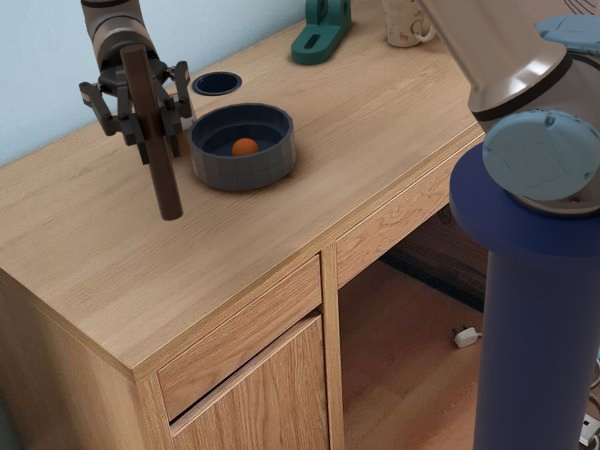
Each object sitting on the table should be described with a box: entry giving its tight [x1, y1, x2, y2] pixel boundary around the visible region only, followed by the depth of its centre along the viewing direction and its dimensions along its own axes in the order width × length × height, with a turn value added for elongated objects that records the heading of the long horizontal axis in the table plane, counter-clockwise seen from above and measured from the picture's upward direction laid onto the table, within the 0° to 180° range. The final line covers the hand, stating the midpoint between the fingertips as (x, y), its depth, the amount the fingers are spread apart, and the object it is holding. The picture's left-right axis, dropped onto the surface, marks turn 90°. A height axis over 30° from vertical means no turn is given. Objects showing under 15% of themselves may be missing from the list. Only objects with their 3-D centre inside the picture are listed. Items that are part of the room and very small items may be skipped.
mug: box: [381, 0, 437, 48], centre depth 140 cm, size 8×13×10 cm, turn 36°
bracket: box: [290, 0, 353, 66], centre depth 144 cm, size 18×7×8 cm, turn 160°
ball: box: [232, 138, 259, 157], centre depth 114 cm, size 4×4×4 cm
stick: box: [120, 44, 185, 222], centre depth 87 cm, size 3×3×20 cm
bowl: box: [187, 102, 298, 192], centre depth 115 cm, size 15×15×6 cm
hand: (159, 149), depth 82 cm, fingers closed on stick, 3 cm apart
